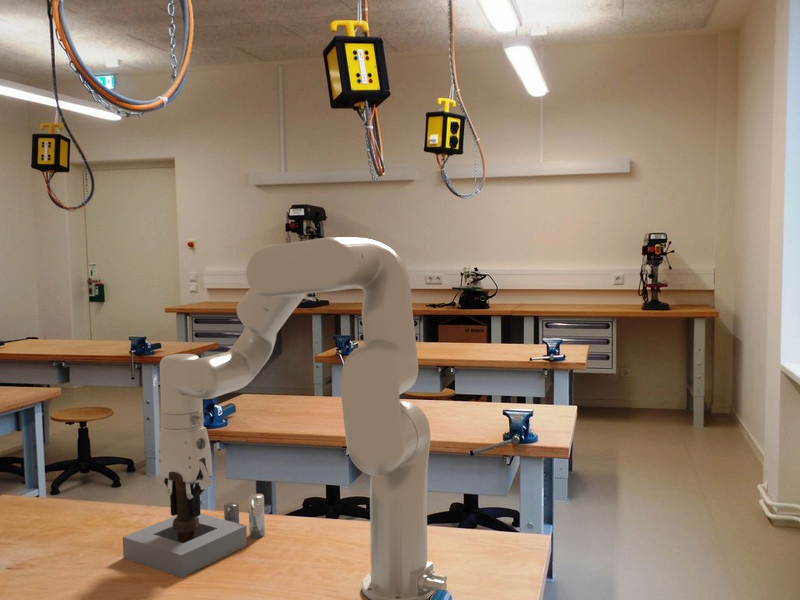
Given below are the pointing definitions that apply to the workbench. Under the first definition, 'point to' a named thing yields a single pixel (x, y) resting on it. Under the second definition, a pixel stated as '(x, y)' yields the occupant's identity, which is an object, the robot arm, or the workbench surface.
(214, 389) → the robot arm
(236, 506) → the pin short
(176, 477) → the bolt
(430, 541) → the workbench surface
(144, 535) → the frame
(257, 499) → the pin mid
